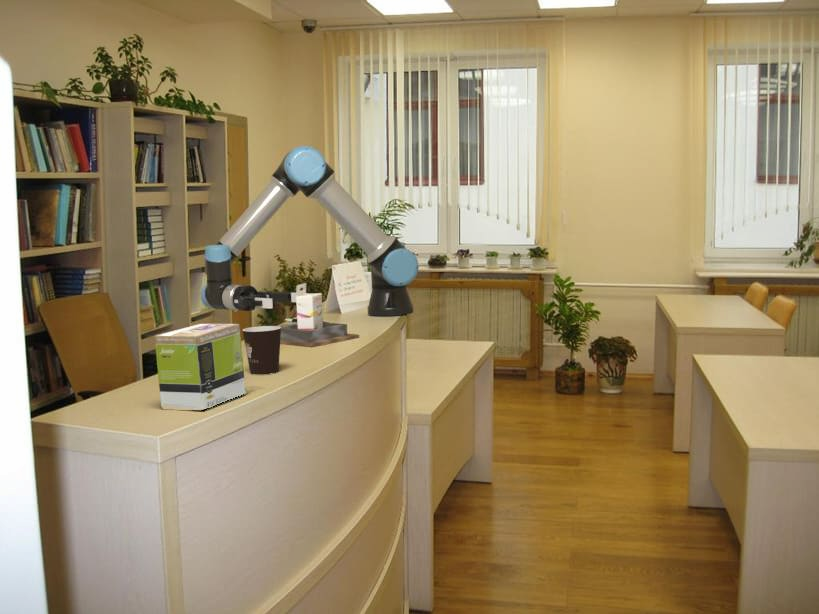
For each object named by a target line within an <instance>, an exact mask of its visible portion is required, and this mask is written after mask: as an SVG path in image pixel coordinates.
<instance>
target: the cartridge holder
mask: <svg viewBox="0 0 819 614" xmlns="http://www.w3.org/2000/svg"><path fill="white" fill-rule="evenodd" d="M280 327H281V336H280V345H286V346H287V345H288V346H298V347H306V348H315V347H320V346H325V345H329V344H333V343H338V342H344V341H349V340H354V339H358V338H360V334H357V333H348V324H347V323H336V322H324V321H323V328H319V329H314V330H299V329H298V323H295V324H290V325H289V324H288V325H282V326H280Z"/></svg>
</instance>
